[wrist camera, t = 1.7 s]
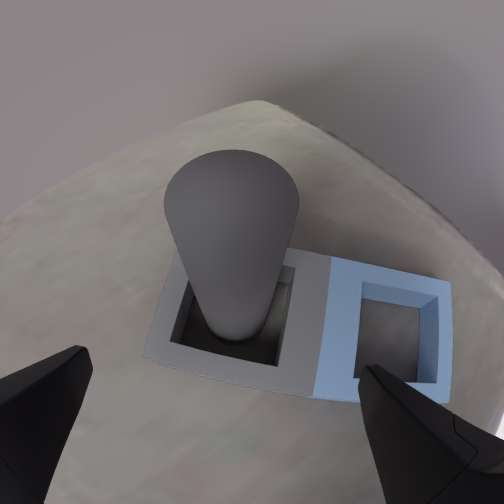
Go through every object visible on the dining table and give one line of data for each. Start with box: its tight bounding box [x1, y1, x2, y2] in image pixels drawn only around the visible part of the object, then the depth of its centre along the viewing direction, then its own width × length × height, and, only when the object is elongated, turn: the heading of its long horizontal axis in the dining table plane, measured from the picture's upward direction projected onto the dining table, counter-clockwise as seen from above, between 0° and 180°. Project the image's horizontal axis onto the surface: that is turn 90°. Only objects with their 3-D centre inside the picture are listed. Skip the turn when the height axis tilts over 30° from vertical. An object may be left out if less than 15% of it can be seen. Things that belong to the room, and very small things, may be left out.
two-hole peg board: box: [142, 247, 453, 404], centre depth 20 cm, size 22×10×3 cm, turn 78°
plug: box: [164, 150, 299, 345], centre depth 16 cm, size 4×4×14 cm
